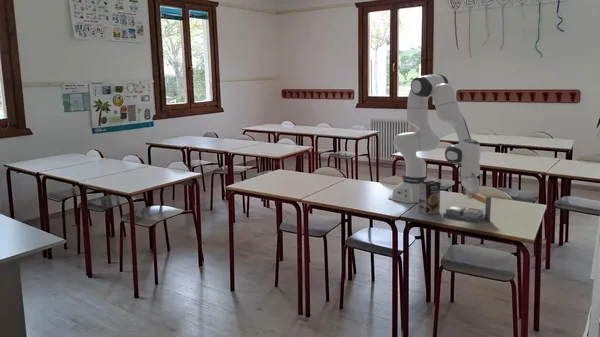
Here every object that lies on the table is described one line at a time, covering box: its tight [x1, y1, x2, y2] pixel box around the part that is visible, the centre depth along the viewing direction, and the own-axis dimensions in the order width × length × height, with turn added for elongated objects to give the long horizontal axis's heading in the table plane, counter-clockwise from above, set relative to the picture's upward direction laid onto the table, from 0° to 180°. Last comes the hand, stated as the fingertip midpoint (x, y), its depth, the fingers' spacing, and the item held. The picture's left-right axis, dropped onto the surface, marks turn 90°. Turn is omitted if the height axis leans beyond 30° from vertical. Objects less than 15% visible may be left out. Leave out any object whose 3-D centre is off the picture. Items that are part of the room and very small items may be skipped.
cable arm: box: [462, 187, 492, 222], centre depth 258 cm, size 24×3×12 cm, turn 12°
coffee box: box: [418, 180, 441, 216], centre depth 264 cm, size 9×6×16 cm
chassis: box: [442, 204, 485, 223], centre depth 255 cm, size 18×10×4 cm, turn 51°
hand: (469, 198), depth 259 cm, fingers closed
